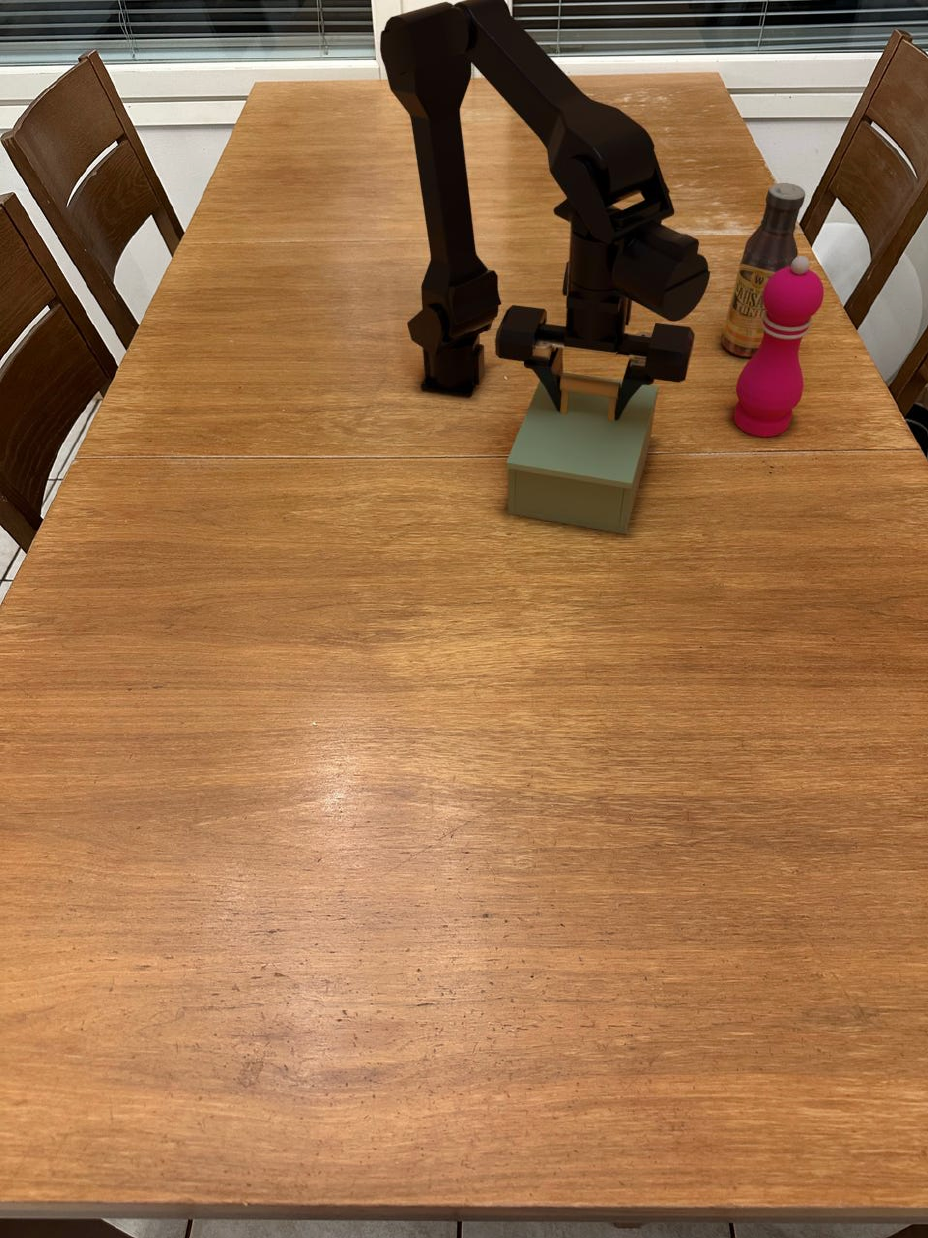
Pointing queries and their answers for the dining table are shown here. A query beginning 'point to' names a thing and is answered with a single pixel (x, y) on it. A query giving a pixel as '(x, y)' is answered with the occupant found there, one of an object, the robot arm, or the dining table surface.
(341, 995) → the dining table surface
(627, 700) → the dining table surface
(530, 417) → the lid
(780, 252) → the sauce bottle
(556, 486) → the green box
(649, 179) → the robot arm
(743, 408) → the pepper mill
